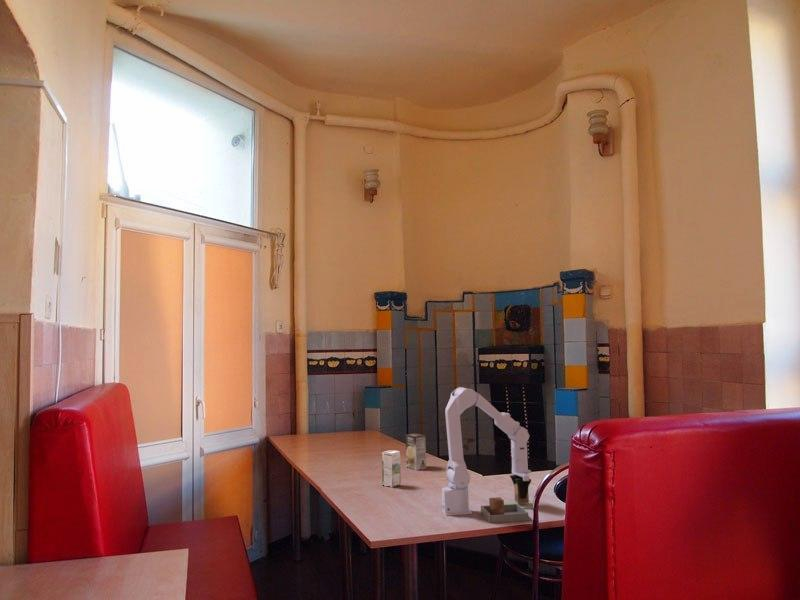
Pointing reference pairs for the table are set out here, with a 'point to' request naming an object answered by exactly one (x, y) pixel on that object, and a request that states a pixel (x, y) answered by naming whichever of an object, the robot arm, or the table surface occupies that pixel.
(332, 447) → the table surface
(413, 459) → the coffee box
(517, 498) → the label block
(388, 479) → the syrup box
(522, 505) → the mat
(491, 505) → the plain block
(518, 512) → the bin
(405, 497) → the table surface
